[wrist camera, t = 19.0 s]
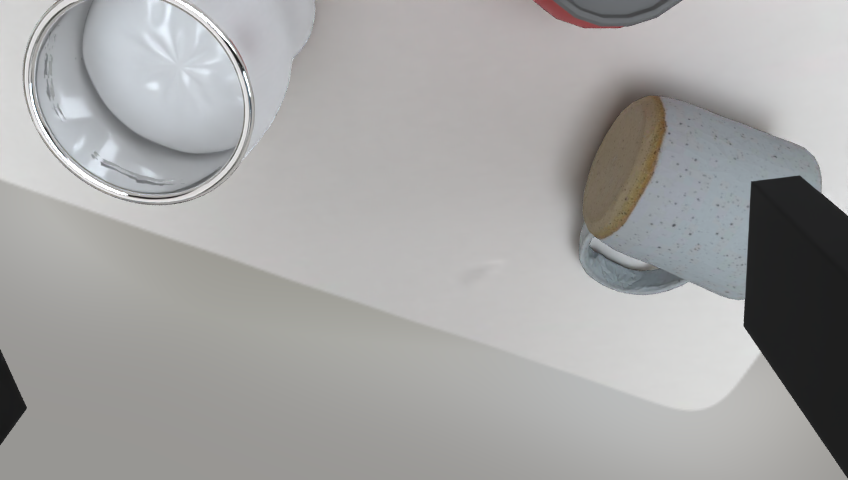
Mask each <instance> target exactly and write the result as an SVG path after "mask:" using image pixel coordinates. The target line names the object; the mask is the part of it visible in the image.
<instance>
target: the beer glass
mask: <svg viewBox="0 0 848 480" xmlns="http://www.w3.org/2000/svg"><path fill="white" fill-rule="evenodd" d="M314 21H315V0H58V1H57V2H55V3H54V4H53V5H52V6H51V7H50V8H49V9H48V10H47V11H46V12H45V13H44V14H43V16H42V17H41V18H40V20H39V21H38V23H37V24H36V26H35V28H34V29H33V31H32V33H31V35H30V38H29V40H28V43H27V46H26V50H25V54H24V60H23V73H22V76H23V89H24V95H25V100H26V104H27V107H28V110H29V113H30V116H31V118H32V121H33V123H34V125H35V127H36V129H37V131H38V133H39V135H40V136H41V138H42V140H43V141H44V143H45V144H46V145H47V147H48V148H49V150H50V151H51V152H52V153H53V154H54V156H55V157H56V158H57V159H58V160H59V161H60V162H61V163H62V164H63V165H64V166H65V167H66V168H67V169H68V170H69V171H70V172H72V173H73V174H74V175H75V176H77V177H78V178H79V179H81V180H82V181H84V182H85V183H87V184H88V185H90V186H92V187H93V188H95V189H97V190H99V191H101V192H103V193H105V194H108V195H110V196H113V197H115V198H118V199H121V200H125V201H129V202H133V203H139V204H147V205H170V204H177V203H182V202H186V201H190V200H193V199H195V198H198V197H200V196H203V195H205V194H207V193H209V192H210V191H212V190H214V189H215V188H217V187H218V186H219V185H221V184H222V183H223V182H224V181H225V180H227V179H228V178H229V177H230V176H231V175H232V173H233V172H234V171H235V170H236V169H237V167H238V166H239V164H240V163H241V161H242V160H243V159H244V158H245V157H246V156H247V155H248V154H249V152H250V151H251V150H252V149H253V148H254V147H255V146H256V144H257V143H258V142H259V141H260V139H261V138H262V137H263V135H264V134H265V132H266V131H267V129H268V128H269V127H270V125H271V124H272V122H273V120H274V119H275V117H276V115H277V113H278V111H279V108H280V106H281V104H282V102H283V100H284V97H285V95H286V92H287V89H288V85H289V81H290V75H291V69H292V61H293V58H294V57H295V56H296V55H297V54H298V53H299V52H300V51H301V50H302V49H303V47H304V46H305V44H306V43H307V41H308V39H309V37H310V35H311V32H312V29H313V25H314Z"/></svg>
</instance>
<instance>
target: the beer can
mask: <svg viewBox="0 0 848 480" xmlns="http://www.w3.org/2000/svg"><path fill="white" fill-rule="evenodd" d="M533 1H534V2H535V3H537V4H538V5H539V6H541V7H542V8H543V9H544V10H546V11H547V12H548V13H550V14H551V15H552V16H553V17H555V18H556V19H559V20H562V21H565V22H568V23H571V24H574V25H576V26H579V27H582V28H621V27H624V26H632V25H635V24H638V23H641V22H644V21H648V20H651V19H654V18H657V17H658V16H660V15H661V14H663V13H664V12H666V11H667V10H669V9H670V8H672V7H673V6H675V5H676V4H678V3H679V2H681V1H682V0H533Z"/></svg>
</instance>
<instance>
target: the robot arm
mask: <svg viewBox="0 0 848 480" xmlns="http://www.w3.org/2000/svg"><path fill="white" fill-rule="evenodd" d="M744 327H745V329H746V330H747V332H748V333H749V335H750V336H751V338H752V339H753V340H754V342H755V343H756V345H757V346H758V348H759V349H760V351H761V352H762V354H763V355H764V357H765V358H766V360H767V361H768V362H769V364H770V365H771V367H772V368H773V370H774V371H775V373H776V374H777V376H778V377H779V379H780V380H781V381H782V383H783V384H784V386H785V387H786V389H787V390H788V392H789V393H790V394H791V396H792V398H793V399H794V400H795V402H796V403H797V405H798V406H799V408H800V409H801V411H802V412H803V413H804V415H805V417H806V418H807V419H808V421H809V422H810V424H811V425H812V427H813V428H814V430H815V431H816V433H817V434H818V436H819V437H820V439H821V440H822V441H823V443H824V444H825V446H826V447H827V449H828V450H829V452H830V453H831V455H832V456H833V458H834V459H835V461H836V462H837V463H838V465H839V466H840V468H841V469H842V471H843V472H844V474H845V475H846V476H847V478H848V216H847V215H846V214H845V213H844V212H843V211H841V210H840V209H839V208H838V207H837V206H836V205H834V204H833V203H832V202H831V201H830V200H828V199H827V198H826V197H825V196H824V195H823V194H821V193H820V192H819V191H818V190H817V189H815V188H814V187H813V186H812V185H811V184H809V183H808V182H807V181H806V180H805V179H804V178H802V177H801V176H800V175H798V176H790V177H782V178H774V179H766V180H758V181H751V192H750V211H749V231H748V251H747V270H746V290H745V310H744ZM26 408H27V407H26V405H25V403H24V401H23V398H22V397H21V394H20V392H19V390H18V387H17V385H16V383H15V381H14V379H13V376H12V374H11V372H10V370H9V368H8V365H7V363H6V361H5V359H4V357H3V354H2V353H1V350H0V445H1V443H2V442H3V441H4V439H5V438H6V436H7V435H8V434H9V432H10V431H11V430H12V428H13V427H14V425H15V424H16V422H17V421H18V420H19V418H20V417H21V416H22V414H23V413H24V411H25V410H26Z"/></svg>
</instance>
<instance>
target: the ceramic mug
mask: <svg viewBox="0 0 848 480" xmlns="http://www.w3.org/2000/svg"><path fill="white" fill-rule="evenodd" d="M798 175H800V176H801V177H802V178H804V179H805V180H806V181H807V182H808V183H809V184H811V185H812V186H813V187H814V188H815V189H817V190H818V191H819V192H820V193H821V187H822V178H821V172H820V168H819V165H818V163H817V161H816V159H815V157H814V156H813V155H812V154H811V153H810V152H808V151H807V150H806V149H805V148H804V147H801V146H799V145H797V144H794V143H792V142H789V141H786V140H784V139H781V138H778V137H775V136H772V135H770V134H767V133H765V132H762V131H760V130H757V129H755V128H752V127H750V126H747V125H745V124H742V123H740V122H737V121H734V120H731V119H728V118H725V117H722V116H720V115H717V114H715V113H712V112H710V111H707V110H705V109H702V108H700V107H697V106H695V105H692V104H689V103H687V102H684V101H681V100H677V99H672V98H667V97H663V96H646V97H643V98H641V99H639V100H637V101H635V102H633V103H631V104H630V105H629V106H628V107H627V108H625V109H624V110H623V111H622V112H621V114H620V115H619V116H618V117H617V118H616V120H615V121H614V123H613V125H612V126H611V128H610V129H609V131H608V132H607V134H606V135H605V137H604V140H603V142H602V143H601V145H600V147H599V149H598V151H597V154H596V156H595V158H594V161H593V163H592V166H591V168H590V172H589V175H588V178H587V182H586V186H585V190H584V195H583V218H584V225H583V228H582V230H581V234H580V244H579V258H580V262H581V264H582V267H583V268H584V270H585V271H586V273H587V274H588V275H589V276H590V277H592V278H593V279H594V280H596V281H597V282H598V283H600V284H602V285H604V286H606V287H608V288H610V289H613V290H616V291H619V292H623V293H628V294H636V295H648V294H656V293H661V292H665V291H669V290H672V289H674V288H677V287H679V286H682V285H684V284H686V283H687V282H691V283H694V284H696V285H698V286H700V287H703V288H705V289H707V290H709V291H711V292H714V293H716V294H718V295H720V296H723V297H726V298H730V299H735V300H743V299H745V290H746V270H747V251H748V231H749V211H750V192H751V181H758V180H766V179H774V178H782V177H790V176H798ZM594 236H595V237H596V238H598V239H599V240H601V241H602V242H604V243H605V244H607V245H608V246H610V247H611V248H613V249H614V250H616V251H619V252H621V253H623V254H626V255H628V256H630V257H633V258H636V259H638V260H641V261H644V262H646V263H649V264H652V265H654V266H656V267H658V268H660V269H655V270H646V271H638V270H630V269H627V268H625V267H622V266H620V265H618V264H616V263H614V262H612V261H610V260H608V259H606V258H605V257H604V256H603V255H601V254H599V253H596V252H593V250H592V249H591V247H590V245H589V244H590V242H591V240H592V238H594Z"/></svg>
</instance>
